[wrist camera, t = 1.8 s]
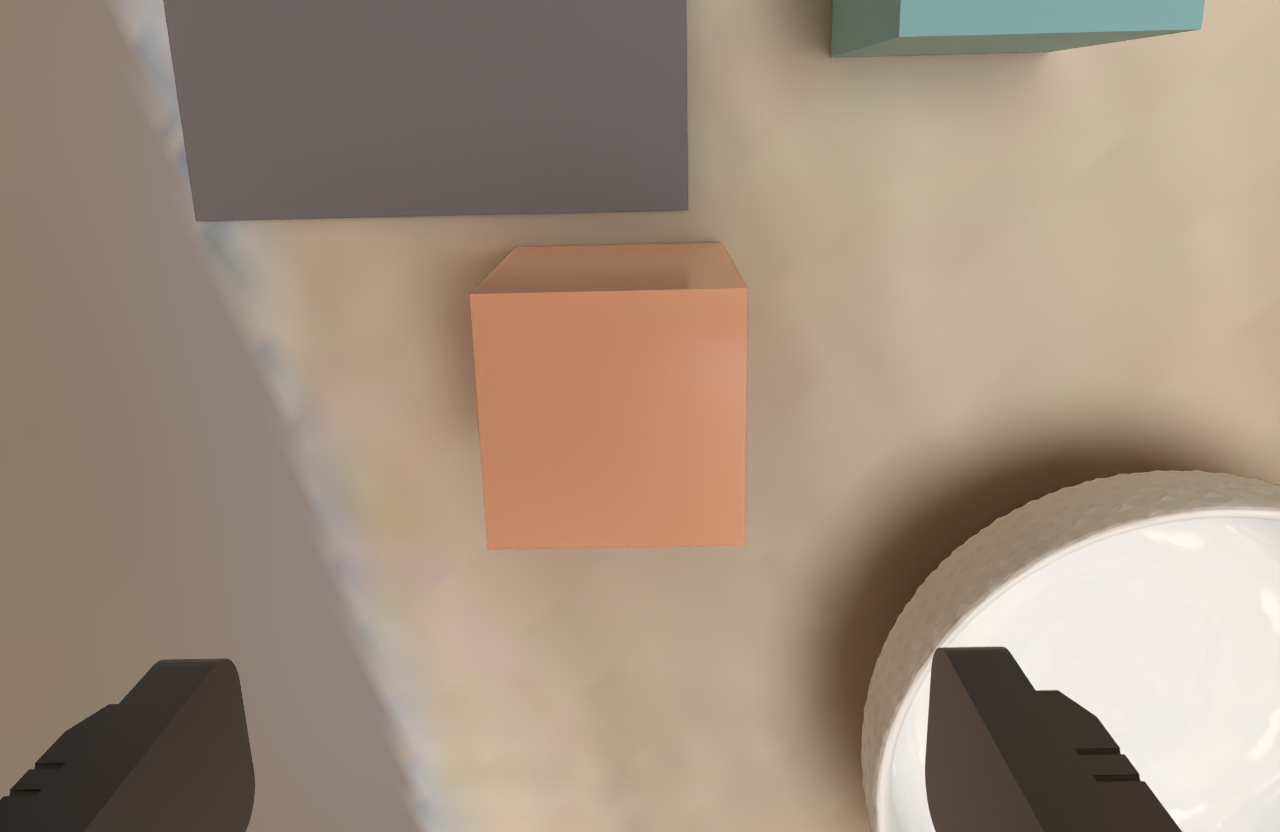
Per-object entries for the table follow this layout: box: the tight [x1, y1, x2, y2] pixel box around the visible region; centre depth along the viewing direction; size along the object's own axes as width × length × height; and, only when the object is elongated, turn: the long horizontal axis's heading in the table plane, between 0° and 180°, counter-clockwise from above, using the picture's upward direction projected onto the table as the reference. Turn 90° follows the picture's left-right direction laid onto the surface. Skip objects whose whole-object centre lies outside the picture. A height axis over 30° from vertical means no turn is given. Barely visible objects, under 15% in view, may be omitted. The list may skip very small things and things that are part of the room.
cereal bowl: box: [861, 470, 1280, 832], centre depth 30 cm, size 17×17×7 cm
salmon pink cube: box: [469, 242, 747, 549], centre depth 27 cm, size 6×6×8 cm
